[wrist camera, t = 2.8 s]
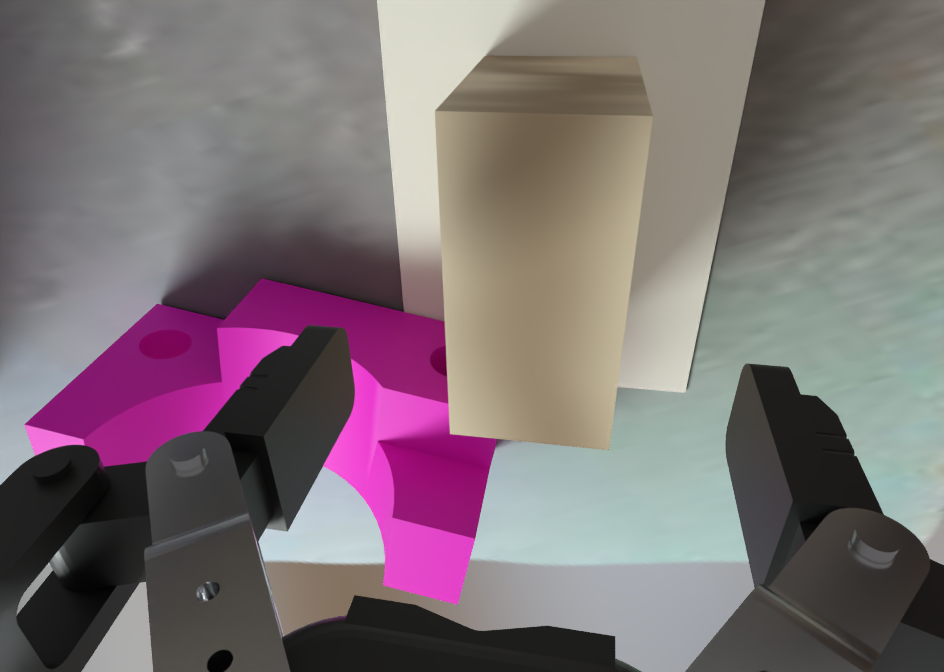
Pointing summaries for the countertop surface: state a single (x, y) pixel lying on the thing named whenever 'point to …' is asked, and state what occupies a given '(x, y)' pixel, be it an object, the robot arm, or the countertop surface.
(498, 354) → the maple block
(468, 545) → the toy block
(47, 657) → the robot arm
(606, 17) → the tile
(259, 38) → the countertop surface
